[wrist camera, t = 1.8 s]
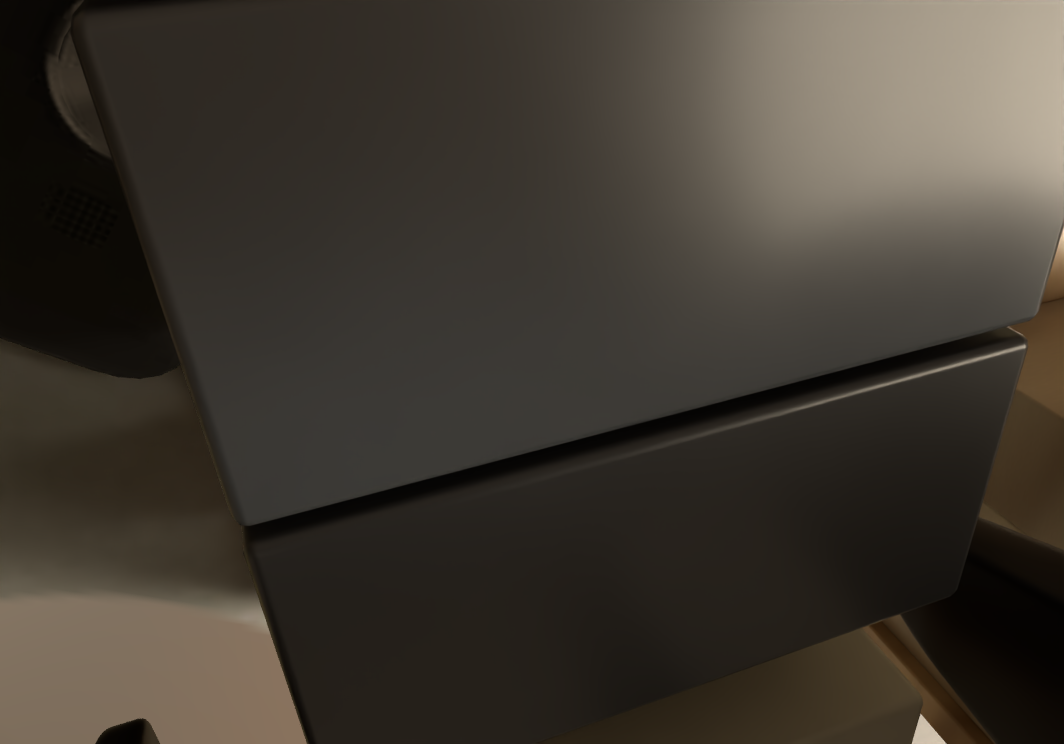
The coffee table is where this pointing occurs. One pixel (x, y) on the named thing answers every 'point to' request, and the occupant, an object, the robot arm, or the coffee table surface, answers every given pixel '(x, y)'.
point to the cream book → (779, 704)
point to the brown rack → (1006, 498)
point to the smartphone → (67, 211)
